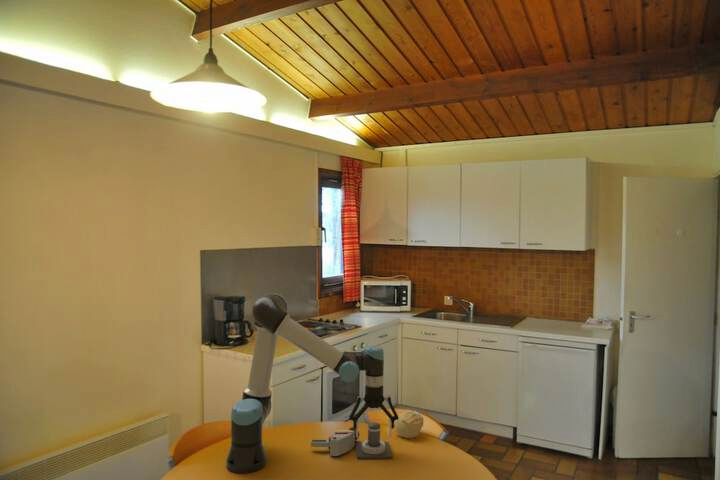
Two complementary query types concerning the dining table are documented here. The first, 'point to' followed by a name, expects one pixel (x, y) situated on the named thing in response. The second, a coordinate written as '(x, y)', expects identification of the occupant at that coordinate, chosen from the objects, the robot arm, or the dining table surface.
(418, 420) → the cream crumpled ball
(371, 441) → the lens
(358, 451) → the mount
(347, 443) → the film camera
